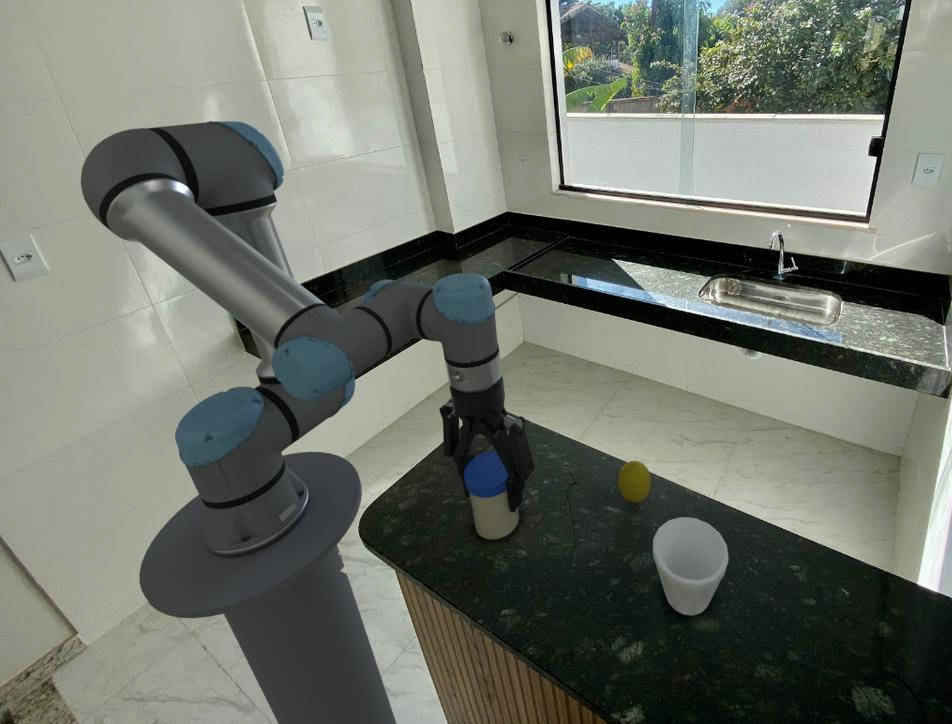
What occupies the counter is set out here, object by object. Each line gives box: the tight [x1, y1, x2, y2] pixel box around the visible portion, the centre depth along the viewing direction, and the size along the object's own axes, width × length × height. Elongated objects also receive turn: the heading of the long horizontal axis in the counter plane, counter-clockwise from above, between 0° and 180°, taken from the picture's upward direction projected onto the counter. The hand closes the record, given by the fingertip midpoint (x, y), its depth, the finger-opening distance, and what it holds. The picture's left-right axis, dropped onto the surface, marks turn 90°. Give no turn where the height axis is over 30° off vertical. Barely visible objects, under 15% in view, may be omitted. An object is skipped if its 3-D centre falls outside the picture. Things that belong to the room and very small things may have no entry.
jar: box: [469, 490, 520, 540], centre depth 78 cm, size 7×7×11 cm
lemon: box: [617, 460, 652, 503], centre depth 82 cm, size 6×6×8 cm
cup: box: [652, 516, 729, 617], centre depth 66 cm, size 10×10×9 cm
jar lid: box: [464, 450, 509, 498], centre depth 76 cm, size 8×8×2 cm
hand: (493, 497), depth 78 cm, fingers closed on jar lid, 8 cm apart
